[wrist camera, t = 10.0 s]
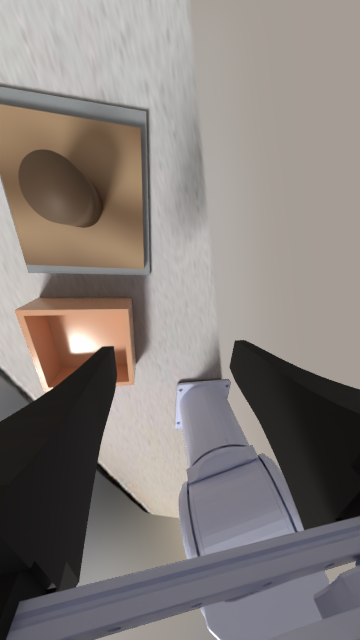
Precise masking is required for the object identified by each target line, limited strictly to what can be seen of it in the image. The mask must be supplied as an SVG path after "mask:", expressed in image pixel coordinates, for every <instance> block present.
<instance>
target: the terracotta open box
mask: <svg viewBox="0 0 360 640" xmlns="http://www.w3.org/2000/svg"><path fill="white" fill-rule="evenodd" d="M15 313H16V315H17V318H18V321H19V324H20V326H21V329H22V332H23V335H24V337H25V340H26V343H27V346H28V349H29V351H30V354H31V357H32V360H33V362H34V365H35V368H36V371H37V373H38V376H39V379H40V382H41V385H42V387H43V390H44V392H48V391H50V390H51V389H52V388H54V387H55V386H57V385H58V384H59V383H61V382H62V381H63V380H64V379H65V378H67V377H68V376H69V375H70V374H72V373H73V372H74V371H75V370H77V369H78V368H79V367H80V366H81V365H82V364H83V363H85V362H86V361H87V360H88V359H89V358H90V357H91V356H92V355H93V354H94V353H95V352H97V351H98V350H99V349H100V348H101V347H102V346H114V352H115V360H116V368H117V381H116V386H124V385H134V380H135V370H136V356H135V341H134V326H133V311H132V298H37V299H35V300H33V301H31V302H29V303H28V304H26V305H24V306H22V307H20V308H18V309H16V310H15Z"/></svg>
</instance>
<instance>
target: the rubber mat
mask: <svg viewBox="0 0 360 640" xmlns="http://www.w3.org/2000/svg"><path fill="white" fill-rule="evenodd" d="M0 104H2V105H8V106H14V107H20V108H26V109H32V110H38V111H43V112H49V113H55V114H61V115H67V116H73V117H79V118H85V119H91V120H97V121H102V122H108V123H114V124H120V125H126V126H132V127H138V128H141V150H142V194H143V238H144V269H128V268H101V267H74V266H47V265H26V266H27V269H28V272H29V273H65V274H115V275H150V262H149V216H148V170H147V124H146V111H140V110H135V109H129V108H123V107H117V106H111V105H105V104H99V103H94V102H88V101H82V100H76V99H70V98H64V97H58V96H52V95H47V94H41V93H35V92H29V91H23V90H17V89H11V88H6V87H0ZM0 178H1V175H0ZM1 182H2V179H1ZM2 185H3V182H2ZM3 188H4V186H3ZM4 192H5V189H4ZM5 195H6V193H5ZM6 199H7V196H6ZM7 202H8V200H7ZM8 205H9V203H8ZM9 209H10V207H9ZM10 212H11V210H10ZM11 215H12V214H11ZM12 219H13V217H12ZM13 222H14V221H13ZM14 225H15V224H14ZM15 229H16V228H15ZM16 232H17V231H16ZM18 239H19V238H18Z"/></svg>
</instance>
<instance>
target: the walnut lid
mask: <svg viewBox="0 0 360 640" xmlns="http://www.w3.org/2000/svg"><path fill="white" fill-rule="evenodd" d="M0 175H1V179H2V182H3V186H4V189H5V193H6V196H7V200H8V203H9V207H10V210H11V214H12V217H13V221H14V224H15V228H16V231H17V235H18V238H19V242H20V245H21V249H22V252H23V256H24V259H25V263H26V265H47V266H74V267H101V268H128V269H144V238H143V194H142V150H141V128H138V127H132V126H126V125H120V124H114V123H108V122H102V121H97V120H91V119H85V118H79V117H73V116H67V115H61V114H55V113H49V112H43V111H38V110H32V109H26V108H20V107H14V106H8V105H2V104H0Z"/></svg>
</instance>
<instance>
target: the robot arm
mask: <svg viewBox="0 0 360 640" xmlns="http://www.w3.org/2000/svg"><path fill="white" fill-rule="evenodd" d="M230 369H231V372H232V374H233V377H234V379H235V381H236V383H237V385H238V386H239V388H240V389H241V392H242V393H243V395H244V397H245V398H246V400H247V402H248V403H249V405H250V406H251V408H252V410H253V412H254V413H255V415H256V417H257V418H258V420H259V422H260V424H261V426H262V428H263V430H264V432H265V434H266V437H267V439H268V441H269V443H270V445H271V448H272V449H273V452H274V454H275V456H276V459H277V461H278V463H279V466H280V468H281V470H282V473H283V474H282V473H281V471H280V469H279V468H278V466H277V465H276V464H275V462H274V461H273V460H272V459H271V458H269V457H267V456H266V455H265V454H263V453H262V454H259V455H257V453H256V451H255V449H254V447H253V446H252V445H249V444H248V442H247V440H246V438H245V435H244V433H243V431H242V429H241V427H240V425H239V424H238V421H237V419H236V417H235V415H234V413H233V411H232V409H231V407H230V405H229V403H228V401H227V398H228V393H229V388H230V384H231V382H230V380H229V379H223V380H211V381H199V382H186V383H179V384H178V385H177V397H176V415H175V428H176V429H182V434H183V440H184V445H185V451H186V457H187V463H188V469H187V476H188V481H187V482H184V483H183V485H182V489H181V491H180V494H179V517H180V526H181V532H182V539H183V544H184V549H185V553H186V557H187V560H183V561H179V562H175V563H171V564H167V565H164V566H159V567H155V568H152V569H147V570H144V571H139V572H136V573H131V574H127V575H124V576H119V577H115V578H112V579H107V580H104V581H99V582H95V583H91V584H87V585H83V586H79V587H76V586H77V584H78V582H79V578H80V570H81V563H82V555H83V549H84V542H85V535H86V528H87V521H88V515H89V509H90V503H91V496H92V490H93V484H94V479H95V473H96V467H97V461H98V456H99V451H100V445H101V441H102V436H103V432H104V429H105V425H106V422H107V418H108V415H109V411H110V408H111V404H112V400H113V397H114V393H115V388H116V381H117V368H116V360H115V352H114V346H102V347H101V348H100V349H99V350H98V351H97V352H95V353H94V354H93V355H92V356H91V357H90V358H89V359H88V360H87V361H86V362H85V363H83V364H82V365H81V366H80V367H79V368H78V369H77V370H75V371H74V372H73V373H72V374H70V375H69V376H68V377H67V378H65V379H64V380H63V381H62V382H61V383H59V384H58V385H57V386H55V387H54V388H52V389H51V390H50V391H48V392H47V393H45V394H44V395H42V396H41V397H40V398H38V399H37V400H35V401H33V402H32V403H30V404H29V405H27V406H25V407H24V408H22V409H21V410H19V411H17V412H16V413H14V414H12V415H11V416H9V417H7V418H6V419H4V420H2V421H1V422H0V640H95V639H98V638H101V637H104V636H108V635H111V634H114V633H118V632H121V631H124V630H127V629H131V628H135V627H138V626H141V625H145V624H148V623H151V622H154V621H158V620H161V619H164V618H168V617H171V616H174V615H178V614H181V613H184V612H188V611H191V610H194V609H198V608H201V611H202V614H203V615H204V617H205V620H206V625H207V628H208V630H209V631H210V632H211V633H212V634H213V635H214V636H215V637H216V638H217V639H218V640H360V390H359V389H356V388H353V387H350V386H347V385H343V384H341V383H338V382H335V381H332V380H329V379H326V378H324V377H321V376H318V375H316V374H313V373H311V372H309V371H306V370H303V369H301V368H299V367H297V366H295V365H293V364H291V363H289V362H286V361H284V360H282V359H280V358H278V357H276V356H275V355H272V354H271V353H269V352H267V351H265V350H263V349H261V348H259V347H257V346H255V345H254V344H252V343H249V342H247V341H244V340H240V341H235V343H234V348H233V353H232V358H231V363H230ZM283 475H284V476H283ZM354 561H356V567H355V568H352V569H350V570H348V571H346V572H343V573H341V574H340V575H339V576H338V577H337V579H336V580H335V581H334V582H332V583H331V584H330V585H329V580H328V578H327V576H326V574H325V570H327V569H331V568H334V567H338V566H341V565H344V564H348V563H351V562H354Z"/></svg>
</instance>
